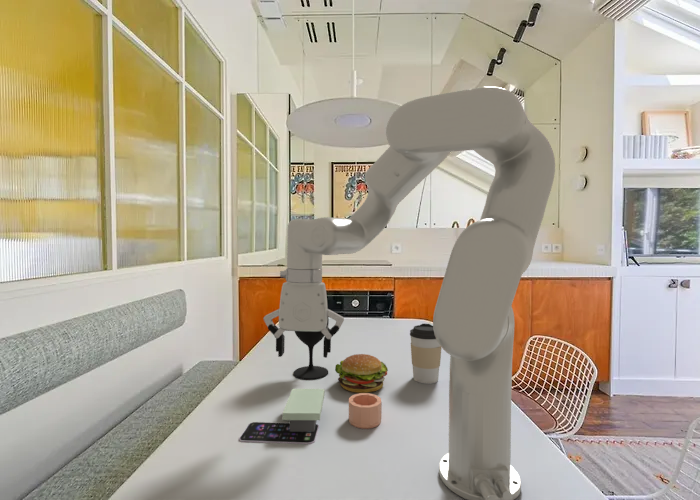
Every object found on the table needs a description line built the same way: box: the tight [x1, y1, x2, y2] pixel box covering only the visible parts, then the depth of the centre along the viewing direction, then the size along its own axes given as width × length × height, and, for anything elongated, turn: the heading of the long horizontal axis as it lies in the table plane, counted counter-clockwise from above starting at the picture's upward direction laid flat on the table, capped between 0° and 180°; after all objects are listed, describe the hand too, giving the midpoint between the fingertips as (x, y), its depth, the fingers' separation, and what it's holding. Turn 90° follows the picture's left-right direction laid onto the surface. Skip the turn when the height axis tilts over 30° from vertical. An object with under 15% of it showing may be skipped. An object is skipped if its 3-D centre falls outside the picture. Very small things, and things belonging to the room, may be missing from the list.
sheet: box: [282, 388, 326, 421], centre depth 78 cm, size 12×8×1 cm, turn 0°
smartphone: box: [238, 421, 320, 445], centre depth 73 cm, size 8×1×15 cm
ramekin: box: [348, 392, 383, 430], centre depth 78 cm, size 7×7×4 cm
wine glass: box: [293, 318, 330, 381], centre depth 106 cm, size 10×10×20 cm
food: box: [335, 353, 389, 394], centre depth 98 cm, size 14×14×8 cm
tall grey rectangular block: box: [289, 420, 318, 432], centre depth 78 cm, size 10×5×3 cm, turn 179°
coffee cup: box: [409, 323, 442, 384], centre depth 102 cm, size 9×9×15 cm
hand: (303, 355), depth 78 cm, fingers open, 9 cm apart
